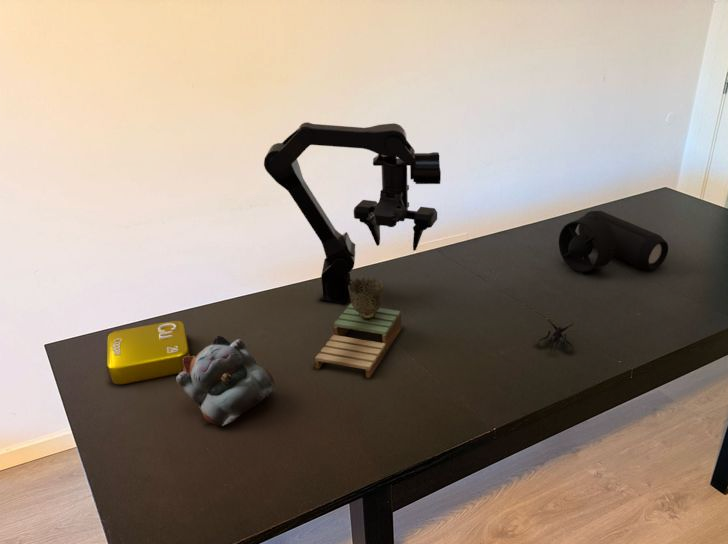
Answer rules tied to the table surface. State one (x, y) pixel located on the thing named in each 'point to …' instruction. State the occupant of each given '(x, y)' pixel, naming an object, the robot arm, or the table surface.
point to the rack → (356, 349)
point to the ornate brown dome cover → (366, 296)
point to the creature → (557, 336)
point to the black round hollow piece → (587, 243)
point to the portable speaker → (632, 242)
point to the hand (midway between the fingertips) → (396, 247)
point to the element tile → (146, 352)
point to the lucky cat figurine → (224, 380)
